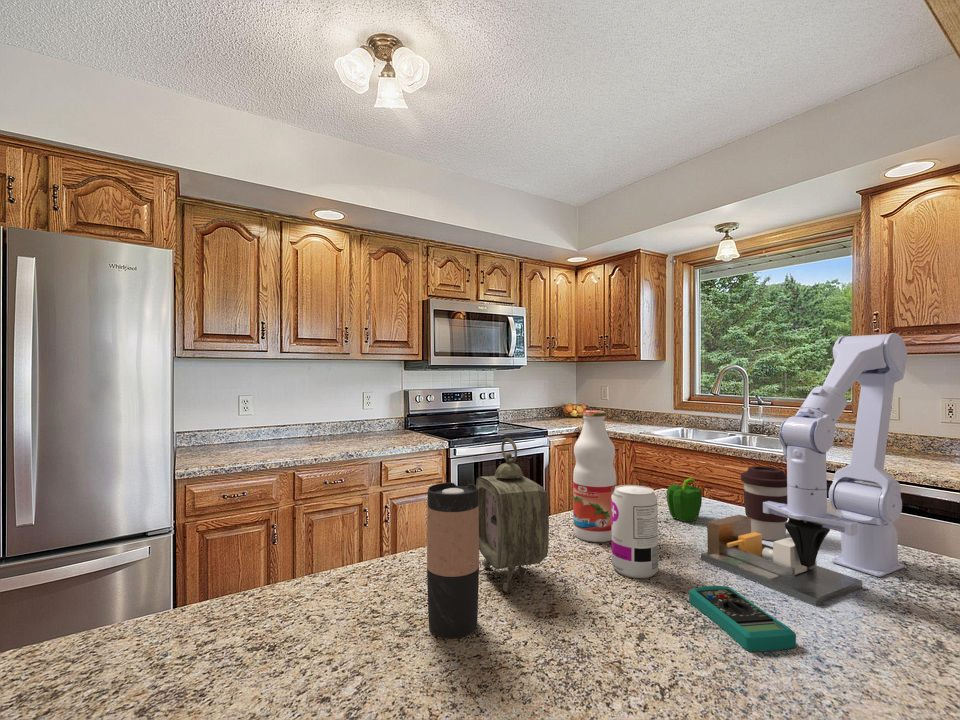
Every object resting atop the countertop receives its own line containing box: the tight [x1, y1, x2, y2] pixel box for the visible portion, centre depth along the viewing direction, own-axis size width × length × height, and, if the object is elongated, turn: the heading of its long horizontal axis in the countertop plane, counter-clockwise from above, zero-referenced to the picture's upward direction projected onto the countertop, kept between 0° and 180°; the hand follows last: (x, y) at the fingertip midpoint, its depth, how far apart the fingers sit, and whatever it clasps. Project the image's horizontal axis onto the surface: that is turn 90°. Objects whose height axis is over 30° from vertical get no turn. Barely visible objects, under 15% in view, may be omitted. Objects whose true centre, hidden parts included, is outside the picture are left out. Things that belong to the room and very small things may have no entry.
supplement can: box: [611, 484, 659, 579], centre depth 91 cm, size 8×8×15 cm
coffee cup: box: [740, 465, 789, 542], centre depth 109 cm, size 10×10×15 cm
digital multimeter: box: [688, 585, 797, 652], centre depth 72 cm, size 7×15×3 cm, turn 8°
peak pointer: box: [727, 532, 763, 556], centre depth 93 cm, size 2×9×4 cm, turn 117°
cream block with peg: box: [762, 536, 807, 575], centre depth 88 cm, size 6×5×5 cm
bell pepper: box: [666, 477, 703, 522], centre depth 122 cm, size 8×8×10 cm
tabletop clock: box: [475, 437, 550, 593], centre depth 88 cm, size 14×9×25 cm, turn 18°
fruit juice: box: [572, 409, 617, 543], centre depth 110 cm, size 9×9×28 cm
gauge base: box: [700, 514, 863, 607], centre depth 89 cm, size 21×14×7 cm, turn 28°
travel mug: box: [426, 482, 480, 639], centre depth 71 cm, size 8×8×20 cm
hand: (807, 564), depth 85 cm, fingers closed
